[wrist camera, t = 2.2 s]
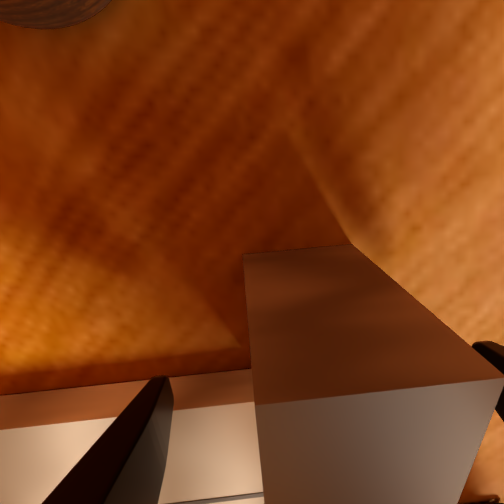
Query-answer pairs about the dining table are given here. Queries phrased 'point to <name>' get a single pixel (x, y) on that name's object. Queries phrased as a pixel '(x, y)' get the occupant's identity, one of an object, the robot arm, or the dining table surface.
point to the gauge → (358, 384)
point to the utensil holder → (49, 12)
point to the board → (108, 409)
